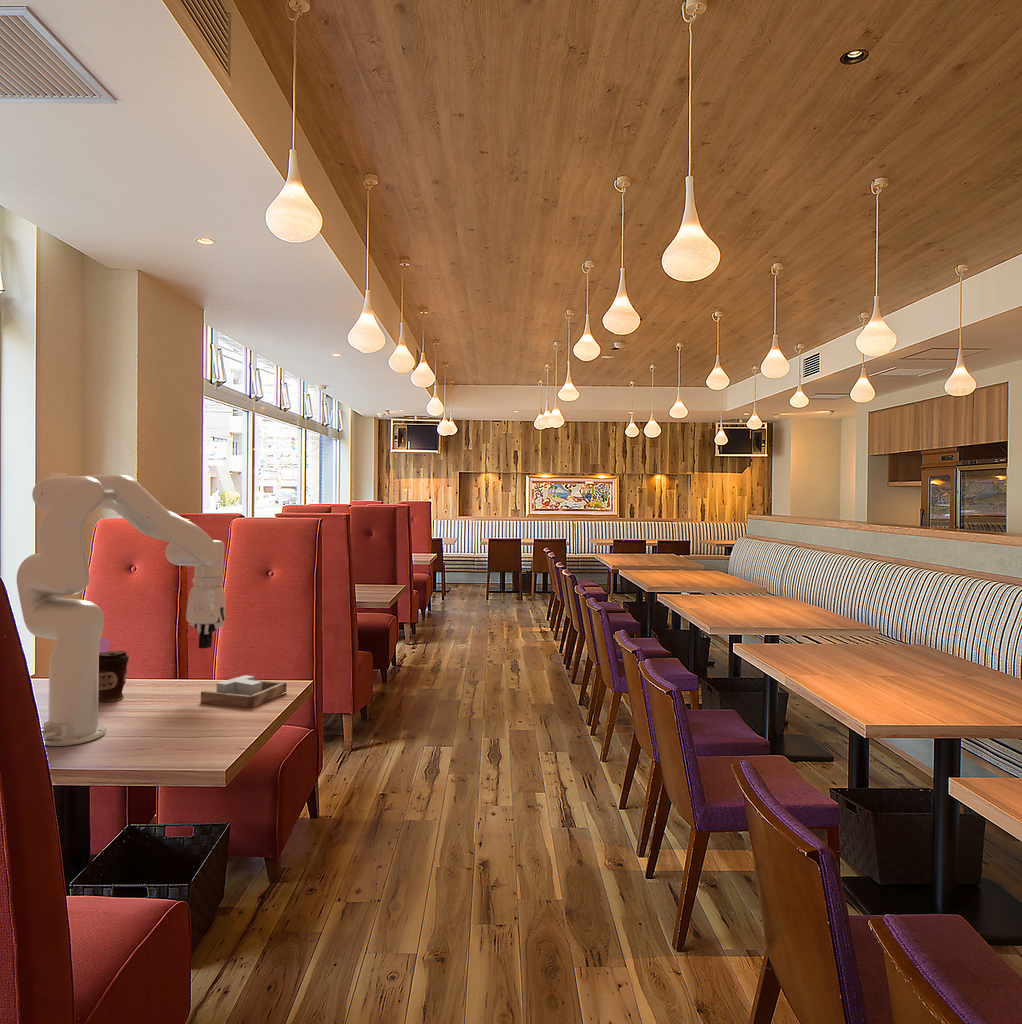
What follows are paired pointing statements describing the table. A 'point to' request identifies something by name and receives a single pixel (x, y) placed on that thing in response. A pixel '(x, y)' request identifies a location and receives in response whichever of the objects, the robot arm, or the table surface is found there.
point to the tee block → (240, 685)
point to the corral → (245, 696)
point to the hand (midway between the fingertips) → (205, 647)
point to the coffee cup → (112, 675)
